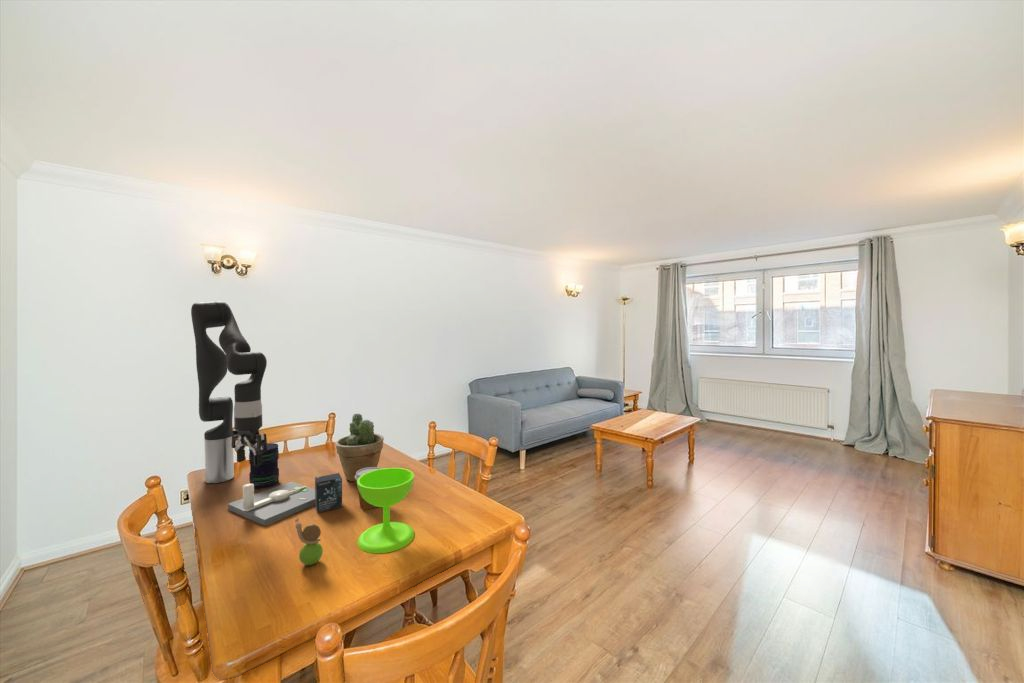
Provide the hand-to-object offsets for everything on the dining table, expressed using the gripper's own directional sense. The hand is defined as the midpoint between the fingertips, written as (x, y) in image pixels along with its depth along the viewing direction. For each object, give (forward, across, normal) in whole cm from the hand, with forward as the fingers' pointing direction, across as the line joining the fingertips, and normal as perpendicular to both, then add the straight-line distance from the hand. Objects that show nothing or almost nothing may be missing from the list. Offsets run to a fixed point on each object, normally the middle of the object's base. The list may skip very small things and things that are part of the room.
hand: (249, 463), depth 127 cm
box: (+18, +18, +15) cm, 29 cm away
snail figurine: (+18, +40, -10) cm, 44 cm away
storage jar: (+18, -21, +19) cm, 34 cm away
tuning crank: (+15, 0, +10) cm, 18 cm away
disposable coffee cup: (+18, +29, +22) cm, 41 cm away
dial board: (+18, 0, +10) cm, 20 cm away
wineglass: (+18, +49, +8) cm, 53 cm away
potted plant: (+18, +7, +40) cm, 45 cm away
